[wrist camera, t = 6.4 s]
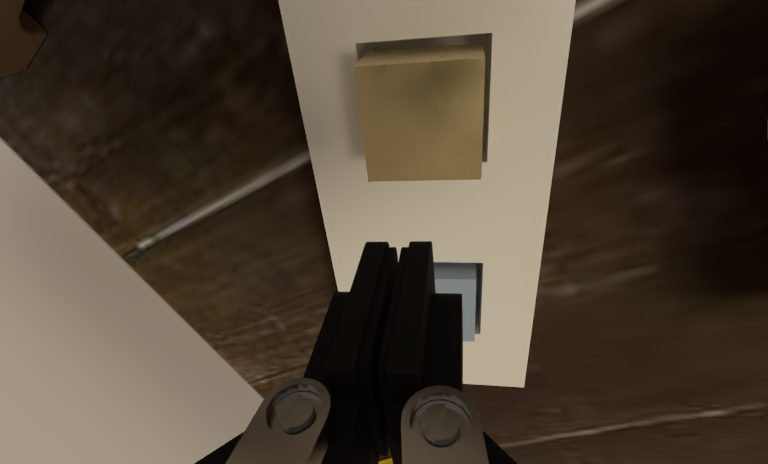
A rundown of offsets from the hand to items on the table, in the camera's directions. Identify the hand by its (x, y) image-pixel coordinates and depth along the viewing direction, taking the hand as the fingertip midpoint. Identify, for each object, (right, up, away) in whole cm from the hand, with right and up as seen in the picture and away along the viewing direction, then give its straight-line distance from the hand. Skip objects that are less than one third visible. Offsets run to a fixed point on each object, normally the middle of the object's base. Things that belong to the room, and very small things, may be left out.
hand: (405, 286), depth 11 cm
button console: (+3, +5, +16) cm, 17 cm away
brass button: (+1, +7, +9) cm, 11 cm away
